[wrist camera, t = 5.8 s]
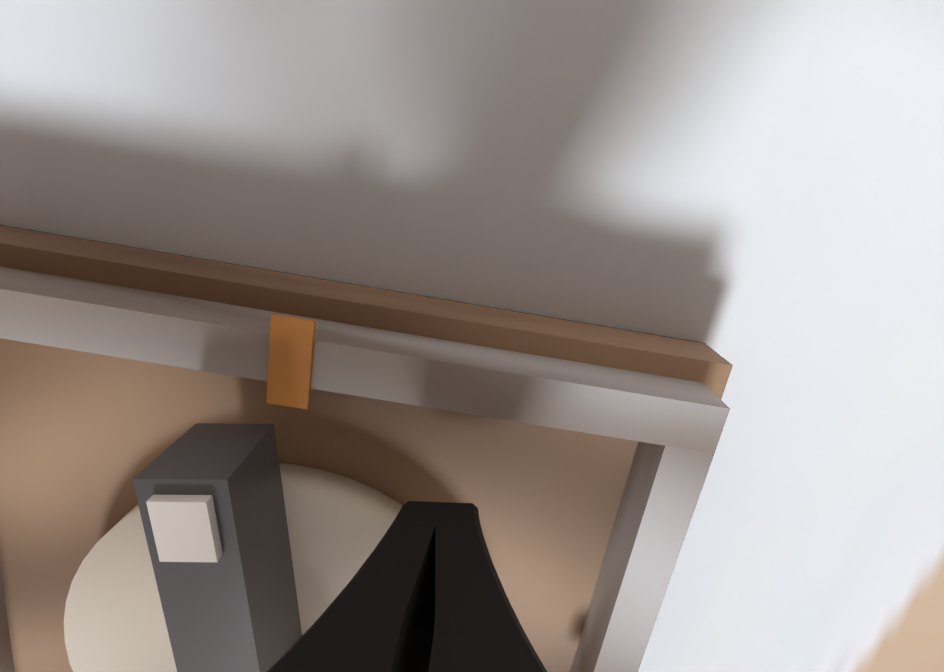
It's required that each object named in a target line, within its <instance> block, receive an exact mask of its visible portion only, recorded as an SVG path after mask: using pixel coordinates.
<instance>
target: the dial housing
mask: <svg viewBox="0 0 944 672" xmlns="http://www.w3.org/2000/svg"><path fill="white" fill-rule="evenodd" d="M732 366H733V365H732V364H730V363H729V362H728V361H726V360H725V359H724V358H723V357H721V356H720V355H719V354H717V353H716V352H715V351H714V350H712V349H711V348H710V347H709V346H707V345H706V344H705V343H700V342H694V341H688V340H682V339H676V338H670V337H664V336H658V335H652V334H646V333H640V332H634V331H628V330H622V329H616V328H610V327H604V326H598V325H592V324H586V323H580V322H574V321H569V320H563V319H557V318H551V317H545V316H539V315H533V314H527V313H521V312H515V311H509V310H503V309H497V308H491V307H485V306H479V305H473V304H467V303H461V302H455V301H449V300H443V299H437V298H431V297H425V296H419V295H414V294H408V293H402V292H396V291H390V290H384V289H378V288H372V287H366V286H360V285H354V284H348V283H342V282H336V281H330V280H324V279H318V278H312V277H306V276H300V275H294V274H288V273H282V272H276V271H270V270H265V269H259V268H253V267H247V266H241V265H235V264H229V263H223V262H217V261H211V260H205V259H199V258H193V257H187V256H181V255H175V254H169V253H163V252H157V251H151V250H145V249H139V248H133V247H127V246H121V245H115V244H110V243H104V242H98V241H92V240H86V239H80V238H74V237H68V236H62V235H56V234H50V233H44V232H38V231H32V230H26V229H20V228H14V227H8V226H2V225H0V672H73V671H72V668H71V666H70V663H69V659H68V654H67V650H66V646H65V637H64V614H65V605H66V599H67V596H68V593H69V589H70V586H71V583H72V580H73V578H74V576H75V574H76V572H77V570H78V569H79V567H80V565H81V563H82V561H83V560H84V558H85V557H86V556H87V554H88V553H89V552H90V551H91V549H92V548H93V547H94V545H95V544H96V543H97V542H98V541H99V540H100V539H101V538H102V537H103V536H104V535H105V534H106V533H107V532H108V531H110V530H111V529H112V528H113V527H114V526H115V525H116V524H117V523H118V522H119V521H120V520H121V519H122V518H123V517H124V516H125V515H126V514H127V513H128V512H130V511H131V510H132V509H133V508H134V507H135V506H136V505H137V504H138V501H137V497H136V493H135V489H134V484H133V480H132V479H133V478H134V477H135V476H136V475H137V474H138V473H140V472H141V471H142V470H143V469H144V468H145V467H146V466H148V465H149V464H150V463H151V462H152V461H153V460H154V459H156V458H157V457H158V456H159V455H160V454H161V453H162V452H164V451H165V450H166V449H167V448H168V447H169V446H170V445H172V444H173V443H174V442H175V441H176V440H177V439H179V438H180V437H181V436H182V435H183V434H184V433H185V432H187V431H188V430H189V429H190V428H191V427H192V426H193V425H195V424H196V423H230V424H274V428H275V435H276V443H277V450H278V458H279V463H283V464H295V465H300V466H306V467H311V468H317V469H322V470H325V471H328V472H332V473H335V474H338V475H342V476H345V477H348V478H351V479H353V480H355V481H358V482H360V483H362V484H365V485H367V486H370V487H372V488H374V489H376V490H378V491H380V492H381V493H383V494H385V495H387V496H388V497H390V498H392V499H394V500H395V501H397V502H399V503H400V504H402V505H404V504H405V503H407V502H408V501H424V502H453V503H473V504H474V505H475V506H476V507H477V508H478V513H479V519H480V524H481V529H482V532H483V536H484V539H485V542H486V545H487V548H488V551H489V554H490V557H491V559H492V562H493V565H494V567H495V569H496V572H497V574H498V577H499V579H500V581H501V584H502V586H503V588H504V591H505V593H506V595H507V597H508V599H509V602H510V604H511V606H512V608H513V610H514V612H515V614H516V616H517V618H518V620H519V622H520V624H521V626H522V628H523V630H524V632H525V633H526V635H527V637H528V639H529V641H530V643H531V645H532V646H533V648H534V650H535V652H536V653H537V655H538V657H539V659H540V660H541V662H542V664H543V665H544V667H545V668H546V670H547V672H638V669H639V667H640V664H641V661H642V658H643V655H644V652H645V649H646V647H647V644H648V641H649V638H650V635H651V632H652V630H653V627H654V624H655V621H656V618H657V615H658V612H659V610H660V607H661V604H662V601H663V598H664V595H665V592H666V590H667V587H668V584H669V581H670V578H671V575H672V572H673V570H674V567H675V564H676V561H677V558H678V555H679V553H680V550H681V547H682V544H683V541H684V538H685V535H686V533H687V530H688V527H689V524H690V521H691V518H692V515H693V513H694V510H695V507H696V504H697V501H698V498H699V495H700V493H701V490H702V487H703V484H704V481H705V478H706V476H707V473H708V470H709V467H710V464H711V461H712V458H713V456H714V453H715V450H716V447H717V444H718V441H719V438H720V436H721V433H722V430H723V427H724V424H725V421H726V418H727V416H728V413H729V410H730V408H729V407H728V406H727V405H725V404H724V403H723V402H722V401H721V398H722V395H723V392H724V389H725V386H726V383H727V380H728V377H729V374H730V371H731V369H732Z"/></svg>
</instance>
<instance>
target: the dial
mask: <svg viewBox="0 0 944 672" xmlns="http://www.w3.org/2000/svg"><path fill="white" fill-rule="evenodd" d="M132 480H133V484H134V489H135V493H136V497H137V501H138V504H137V505H136V506H135V507H134V508H133V509H132V510H131V511H130V512H128V513H127V514H126V515H125V516H124V517H123V518H122V519H121V520H120V521H119V522H118V523H117V524H116V525H115V526H114V527H113V528H112V529H111V530H110V531H108V532H107V533H106V534H105V535H104V536H103V537H102V538H101V539H100V540H99V541H98V542H97V543H96V544H95V545H94V547H93V548H92V549H91V551H90V552H89V553H88V554H87V556H86V557H85V558H84V560H83V561H82V563H81V565H80V567H79V569H78V570H77V572H76V574H75V576H74V578H73V580H72V583H71V586H70V589H69V593H68V596H67V599H66V605H65V614H64V637H65V646H66V650H67V654H68V659H69V663H70V666H71V668H72V671H73V672H267V671H268V670H269V669H270V668H271V667H272V666H273V665H274V664H275V663H276V662H277V661H278V660H279V659H280V658H281V657H282V656H283V655H284V654H285V653H286V652H287V651H288V650H289V649H290V648H291V647H292V646H293V645H294V644H295V643H296V642H297V641H298V640H299V639H300V638H301V637H302V636H303V634H304V633H305V632H306V631H307V630H308V629H309V628H310V627H311V626H312V625H313V624H314V623H315V622H316V620H317V619H318V618H319V617H320V616H321V615H322V614H323V612H324V611H325V610H326V609H327V608H328V607H329V605H330V604H331V603H332V602H333V601H334V600H335V598H336V597H337V596H338V595H339V594H340V593H341V591H342V590H343V589H344V588H345V587H346V586H347V584H348V583H349V582H350V581H351V579H352V578H353V577H354V576H355V574H356V573H357V572H358V570H359V569H360V568H361V566H362V565H363V564H364V562H365V561H366V560H367V558H368V557H369V556H370V554H371V553H372V552H373V550H374V549H375V548H376V546H377V545H378V543H379V542H380V541H381V539H382V538H383V536H384V535H385V533H386V532H387V530H388V529H389V527H390V526H391V524H392V523H393V521H394V520H395V518H396V516H397V515H398V513H399V511H400V510H401V508H402V506H403V505H402V504H400V503H399V502H397V501H395V500H394V499H392V498H390V497H388V496H387V495H385V494H383V493H381V492H380V491H378V490H376V489H374V488H372V487H370V486H367V485H365V484H362V483H360V482H358V481H355V480H353V479H351V478H348V477H345V476H342V475H338V474H335V473H332V472H328V471H325V470H322V469H317V468H311V467H306V466H300V465H295V464H283V463H279V458H278V450H277V443H276V435H275V428H274V424H230V423H196V424H195V425H193V426H192V427H191V428H190V429H189V430H188V431H187V432H185V433H184V434H183V435H182V436H181V437H180V438H179V439H177V440H176V441H175V442H174V443H173V444H172V445H170V446H169V447H168V448H167V449H166V450H165V451H164V452H162V453H161V454H160V455H159V456H158V457H157V458H156V459H154V460H153V461H152V462H151V463H150V464H149V465H148V466H146V467H145V468H144V469H143V470H142V471H141V472H140V473H138V474H137V475H136V476H135V477H134V478H133V479H132Z"/></svg>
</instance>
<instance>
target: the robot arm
mask: <svg viewBox="0 0 944 672" xmlns="http://www.w3.org/2000/svg"><path fill="white" fill-rule="evenodd" d="M267 672H547V670H546V668H545V667H544V665H543V664H542V662H541V660H540V659H539V657H538V655H537V653H536V652H535V650H534V648H533V646H532V645H531V643H530V641H529V639H528V637H527V635H526V633H525V632H524V630H523V628H522V626H521V624H520V622H519V620H518V618H517V616H516V614H515V612H514V610H513V608H512V606H511V604H510V602H509V599H508V597H507V595H506V593H505V591H504V588H503V586H502V584H501V581H500V579H499V577H498V574H497V572H496V569H495V567H494V565H493V562H492V559H491V557H490V554H489V551H488V548H487V545H486V542H485V539H484V536H483V532H482V529H481V524H480V519H479V513H478V508H477V507H476V506H475V505H474V504H473V503H453V502H424V501H408V502H407V503H405V504H404V505H403V506H402V508H401V510H400V511H399V513H398V515H397V516H396V518H395V520H394V521H393V523H392V524H391V526H390V527H389V529H388V530H387V532H386V533H385V535H384V536H383V538H382V539H381V541H380V542H379V543H378V545H377V546H376V548H375V549H374V550H373V552H372V553H371V554H370V556H369V557H368V558H367V560H366V561H365V562H364V564H363V565H362V566H361V568H360V569H359V570H358V572H357V573H356V574H355V576H354V577H353V578H352V579H351V581H350V582H349V583H348V584H347V586H346V587H345V588H344V589H343V590H342V591H341V593H340V594H339V595H338V596H337V597H336V598H335V600H334V601H333V602H332V603H331V604H330V605H329V607H328V608H327V609H326V610H325V611H324V612H323V614H322V615H321V616H320V617H319V618H318V619H317V620H316V622H315V623H314V624H313V625H312V626H311V627H310V628H309V629H308V630H307V631H306V632H305V633H304V634H303V636H302V637H301V638H300V639H299V640H298V641H297V642H296V643H295V644H294V645H293V646H292V647H291V648H290V649H289V650H288V651H287V652H286V653H285V654H284V655H283V656H282V657H281V658H280V659H279V660H278V661H277V662H276V663H275V664H274V665H273V666H272V667H271V668H270V669H269V670H268V671H267Z"/></svg>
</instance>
